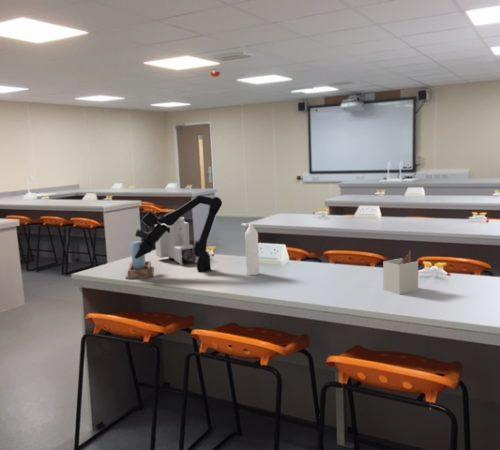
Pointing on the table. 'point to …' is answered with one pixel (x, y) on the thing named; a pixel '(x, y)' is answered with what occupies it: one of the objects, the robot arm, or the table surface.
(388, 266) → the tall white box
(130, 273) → the wooden divided tray
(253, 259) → the water bottle
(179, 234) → the electronic device
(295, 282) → the table surface
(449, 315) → the table surface
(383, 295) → the table surface
